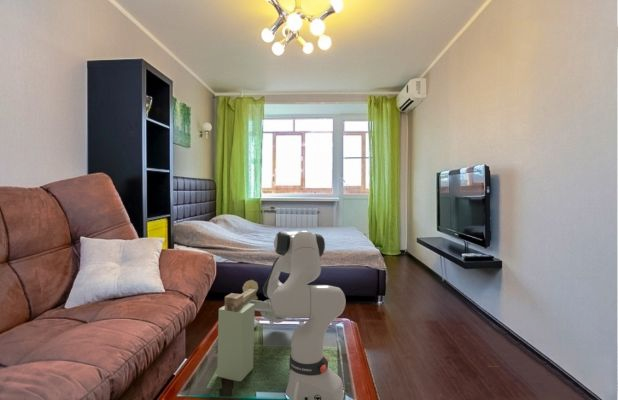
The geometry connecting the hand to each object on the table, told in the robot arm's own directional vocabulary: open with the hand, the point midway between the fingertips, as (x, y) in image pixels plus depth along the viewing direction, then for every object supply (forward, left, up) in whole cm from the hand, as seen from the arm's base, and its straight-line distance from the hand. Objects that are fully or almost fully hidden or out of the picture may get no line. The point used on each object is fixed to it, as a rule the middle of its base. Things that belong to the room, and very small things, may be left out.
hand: (259, 303), depth 149 cm
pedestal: (0, +19, -21) cm, 28 cm away
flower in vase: (+15, -19, -21) cm, 32 cm away
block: (0, +15, +5) cm, 16 cm away
